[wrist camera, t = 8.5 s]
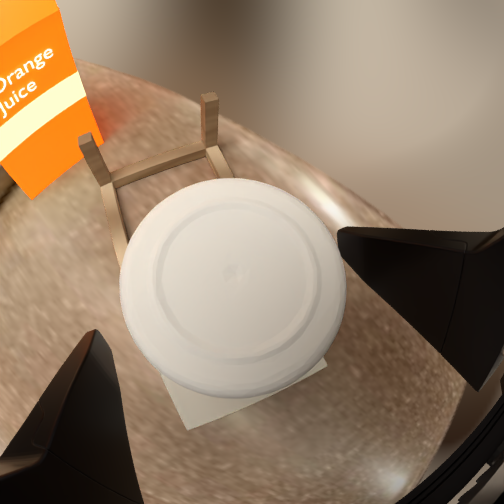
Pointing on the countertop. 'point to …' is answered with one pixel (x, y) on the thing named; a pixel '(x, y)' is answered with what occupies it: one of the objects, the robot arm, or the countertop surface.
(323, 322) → the sprinkles bottle
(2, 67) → the orange juice
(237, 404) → the mat
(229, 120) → the countertop surface
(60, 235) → the countertop surface
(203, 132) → the frame
